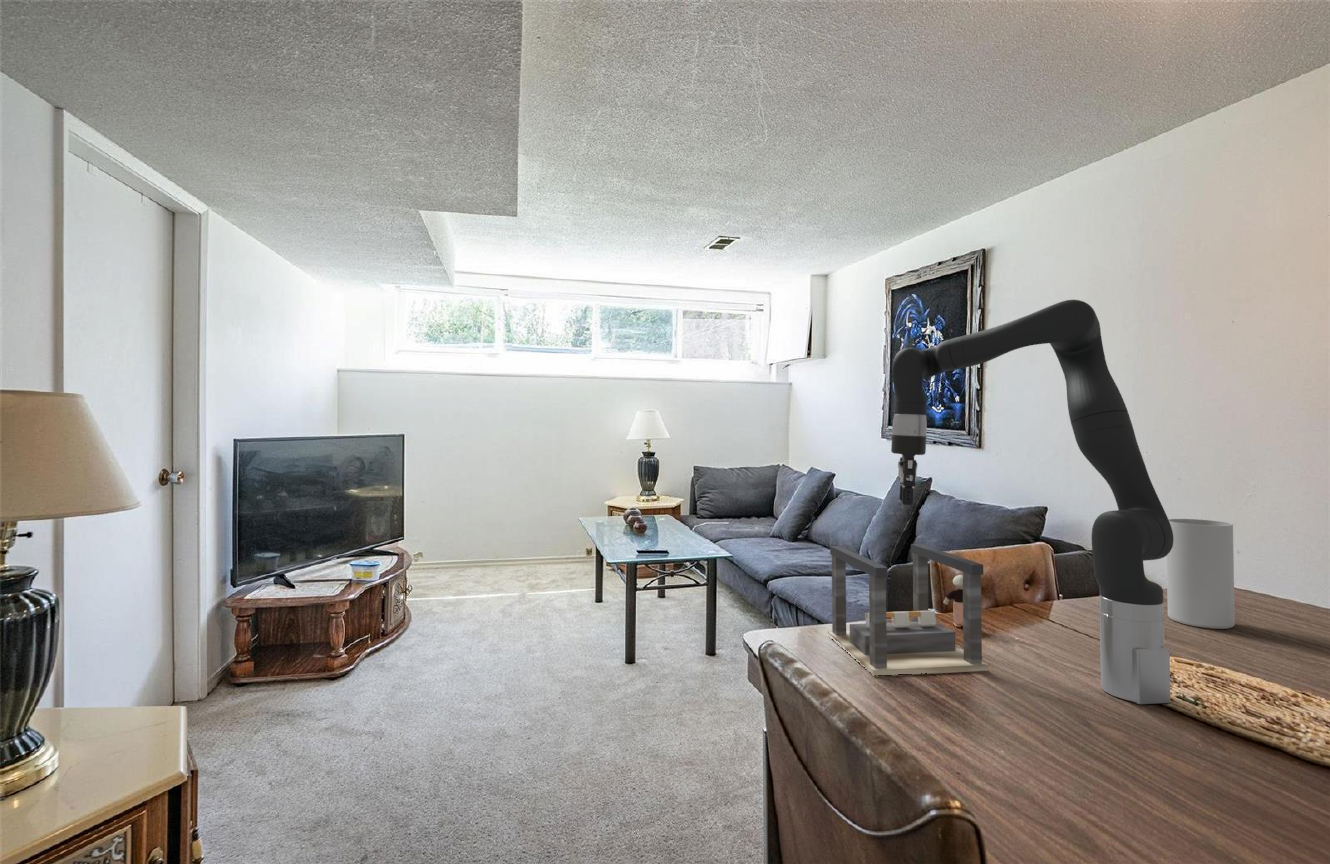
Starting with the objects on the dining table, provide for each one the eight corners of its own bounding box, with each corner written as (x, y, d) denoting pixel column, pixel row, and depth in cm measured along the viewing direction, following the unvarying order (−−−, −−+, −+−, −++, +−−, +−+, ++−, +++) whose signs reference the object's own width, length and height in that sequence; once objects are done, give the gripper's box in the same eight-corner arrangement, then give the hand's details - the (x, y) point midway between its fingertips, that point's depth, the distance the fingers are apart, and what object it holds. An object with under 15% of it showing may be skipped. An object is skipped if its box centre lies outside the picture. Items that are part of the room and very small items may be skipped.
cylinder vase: (1157, 618, 153) (1155, 520, 154) (1183, 612, 159) (1182, 517, 159) (1218, 632, 142) (1217, 527, 142) (1245, 625, 147) (1243, 523, 148)
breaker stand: (988, 670, 120) (987, 574, 120) (873, 676, 118) (872, 578, 118) (924, 632, 144) (923, 551, 144) (827, 636, 142) (827, 554, 142)
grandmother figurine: (973, 624, 150) (973, 573, 150) (980, 629, 146) (979, 577, 146) (941, 623, 150) (940, 573, 151) (947, 628, 147) (946, 576, 147)
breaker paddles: (936, 624, 131) (934, 611, 132) (869, 627, 129) (868, 613, 130) (932, 623, 133) (930, 610, 133) (866, 626, 131) (865, 612, 132)
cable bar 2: (983, 574, 120) (983, 564, 120) (972, 574, 120) (971, 564, 120) (920, 552, 144) (920, 543, 144) (911, 552, 144) (910, 543, 144)
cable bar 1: (887, 577, 118) (887, 567, 118) (876, 578, 118) (876, 567, 118) (840, 554, 142) (840, 545, 142) (830, 554, 142) (830, 546, 142)
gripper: (929, 435, 134) (926, 507, 134) (923, 434, 147) (919, 500, 148) (893, 433, 136) (890, 504, 136) (890, 433, 150) (887, 498, 150)
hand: (905, 502), depth 142 cm, fingers open, 8 cm apart
